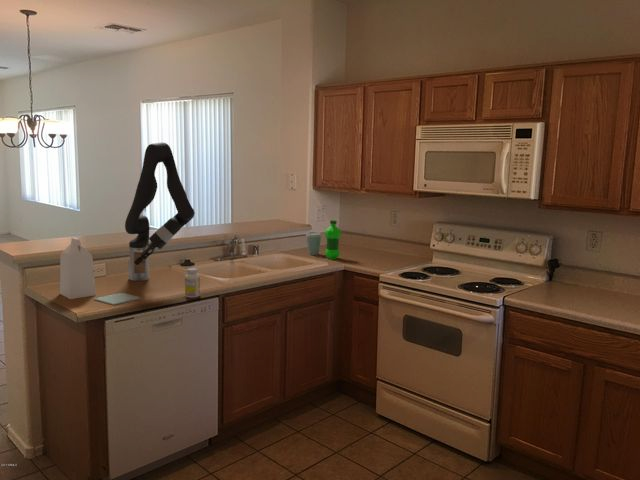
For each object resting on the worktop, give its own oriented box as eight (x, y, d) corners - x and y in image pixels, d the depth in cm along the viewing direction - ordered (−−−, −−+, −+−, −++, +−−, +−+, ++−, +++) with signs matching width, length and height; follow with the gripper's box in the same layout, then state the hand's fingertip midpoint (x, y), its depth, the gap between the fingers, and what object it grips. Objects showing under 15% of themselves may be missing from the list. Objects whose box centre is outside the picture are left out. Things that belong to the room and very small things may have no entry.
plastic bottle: (321, 258, 353) (322, 220, 349) (331, 256, 361) (332, 219, 357) (333, 260, 346) (334, 222, 342) (343, 258, 354) (344, 220, 350)
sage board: (94, 299, 238) (94, 298, 238) (121, 293, 249) (121, 292, 249) (113, 305, 230) (113, 303, 230) (140, 298, 242) (140, 297, 242)
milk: (60, 293, 247) (57, 237, 243) (85, 290, 255) (83, 235, 251) (69, 299, 238) (67, 241, 234) (95, 295, 246) (93, 239, 242)
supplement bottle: (193, 293, 254) (193, 267, 252) (202, 296, 249) (202, 269, 247) (182, 296, 248) (181, 269, 246) (191, 298, 244) (190, 271, 242)
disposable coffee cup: (323, 255, 365) (324, 233, 362) (310, 256, 359) (310, 234, 357) (316, 252, 374) (316, 231, 371) (302, 253, 368) (303, 232, 366)
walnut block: (134, 271, 256) (133, 250, 255) (145, 270, 258) (144, 250, 256) (134, 273, 252) (133, 252, 250) (145, 273, 253) (145, 252, 252)
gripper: (155, 229, 261) (129, 254, 259) (156, 234, 247) (129, 260, 245) (166, 239, 263) (141, 264, 261) (168, 245, 250) (141, 271, 248)
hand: (135, 262), depth 253 cm, fingers closed on walnut block, 5 cm apart
